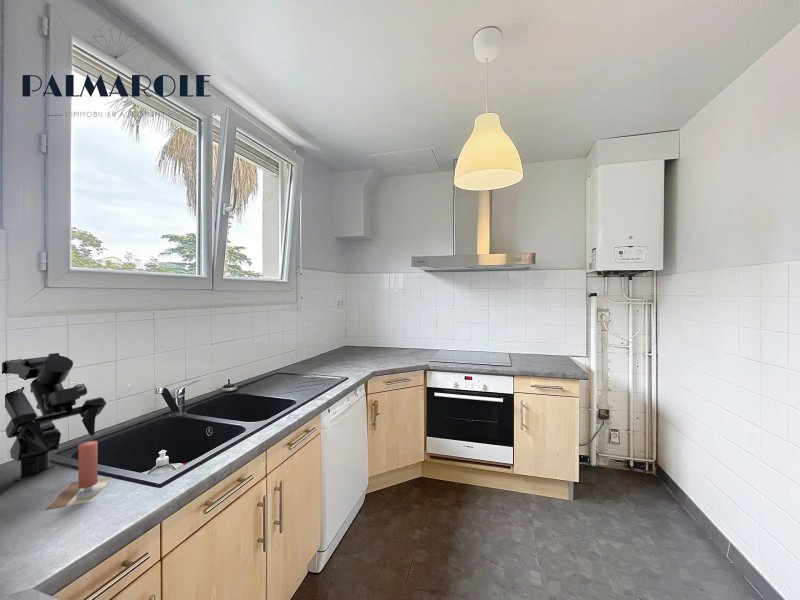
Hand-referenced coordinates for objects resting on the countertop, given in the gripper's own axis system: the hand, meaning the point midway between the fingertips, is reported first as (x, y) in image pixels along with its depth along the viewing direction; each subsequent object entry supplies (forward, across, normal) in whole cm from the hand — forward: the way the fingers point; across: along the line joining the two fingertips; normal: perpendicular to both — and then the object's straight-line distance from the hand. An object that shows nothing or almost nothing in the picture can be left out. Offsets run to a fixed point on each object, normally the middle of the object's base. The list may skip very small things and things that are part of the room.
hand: (71, 441), depth 89 cm
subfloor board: (+13, 0, +6) cm, 14 cm away
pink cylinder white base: (+14, 0, +3) cm, 15 cm away
